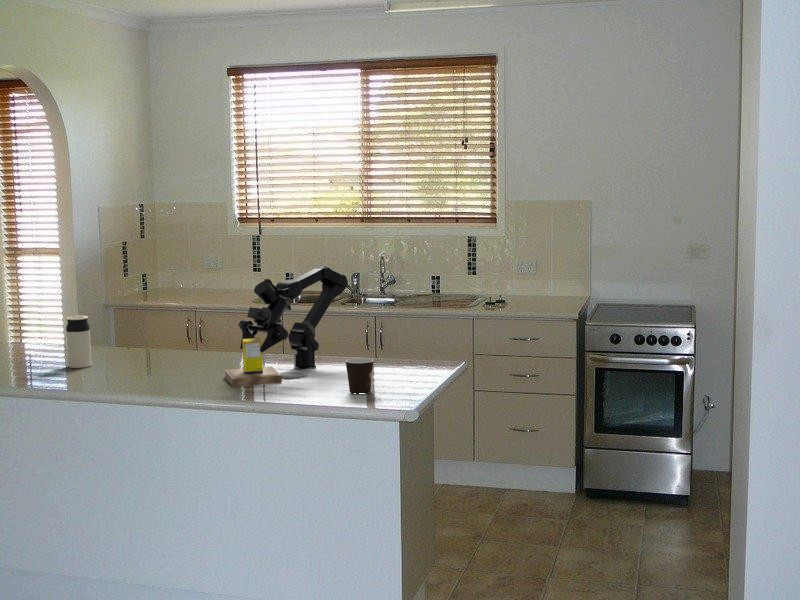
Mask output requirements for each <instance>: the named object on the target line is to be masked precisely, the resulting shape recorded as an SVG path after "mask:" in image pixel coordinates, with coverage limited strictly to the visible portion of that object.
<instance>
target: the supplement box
mask: <svg viewBox="0 0 800 600" xmlns="http://www.w3.org/2000/svg"><path fill="white" fill-rule="evenodd" d="M241 341H242V343H243V350H242V364H243V369H244V372H245V374H251V373H263V367H264V364H263V352H261V351H260V349H261V346H262V344H263V342H262V339H261V338H260V337H255V338H249V339H242V338H241Z"/></svg>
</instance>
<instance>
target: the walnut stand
mask: <svg viewBox="0 0 800 600" xmlns="http://www.w3.org/2000/svg"><path fill="white" fill-rule="evenodd" d="M280 373H281V372H279V371H278V370H277V369H275V368H274V367H273V366H263V373H251V374H245V372H244V368H235V369H234V368H232V369H225V370H224V378H225V379H226V380H227V382H228V383H229V385H231V387H232V388H235V387H247V386H249V387H250V386H259V385H260V386H261V384H262V385H272V384H271V383H274V384H282V383H283V379H282V375H281V374H280ZM281 382H282V383H281Z"/></svg>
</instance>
